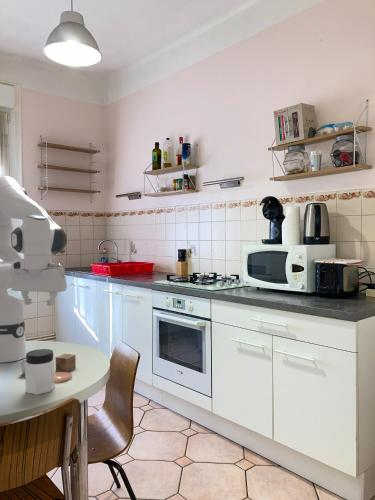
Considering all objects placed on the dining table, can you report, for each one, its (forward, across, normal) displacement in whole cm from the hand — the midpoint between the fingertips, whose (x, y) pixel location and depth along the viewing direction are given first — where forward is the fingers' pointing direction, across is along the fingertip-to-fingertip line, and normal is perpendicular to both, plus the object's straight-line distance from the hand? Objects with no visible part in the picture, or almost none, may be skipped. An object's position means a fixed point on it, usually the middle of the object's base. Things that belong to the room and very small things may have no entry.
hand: (39, 304), depth 137 cm
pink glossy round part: (+26, -3, -4) cm, 27 cm away
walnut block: (+26, 0, -14) cm, 29 cm away
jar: (+26, -4, +6) cm, 27 cm away
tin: (+26, +10, -5) cm, 28 cm away
